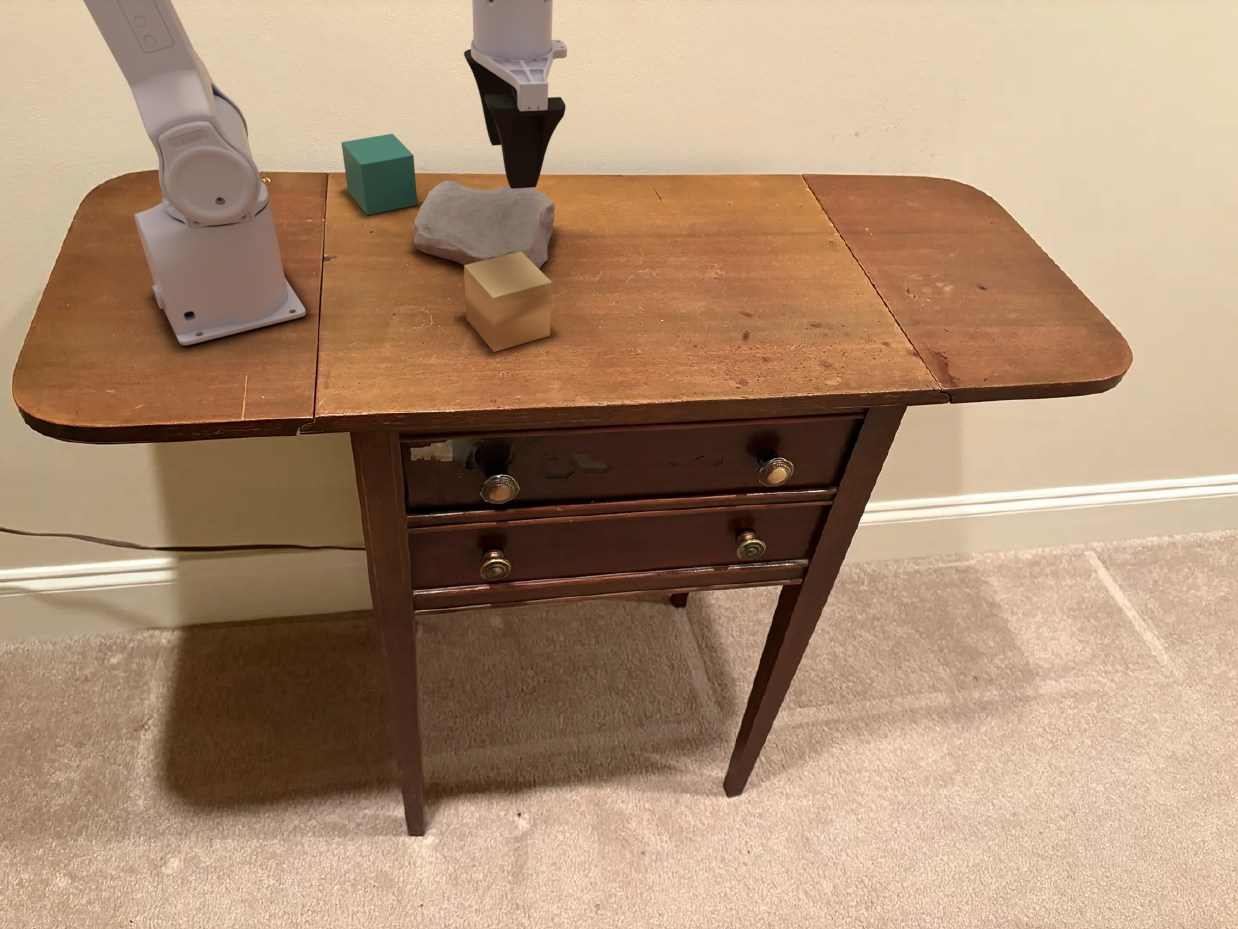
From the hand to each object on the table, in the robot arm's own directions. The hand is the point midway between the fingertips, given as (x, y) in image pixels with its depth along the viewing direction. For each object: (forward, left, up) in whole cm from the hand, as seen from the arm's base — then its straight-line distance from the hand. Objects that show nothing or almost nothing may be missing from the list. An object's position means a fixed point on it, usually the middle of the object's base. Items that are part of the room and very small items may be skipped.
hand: (512, 163), depth 74 cm
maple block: (-5, -8, -10) cm, 13 cm away
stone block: (-1, +4, -10) cm, 11 cm away
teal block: (-6, +16, -10) cm, 19 cm away
